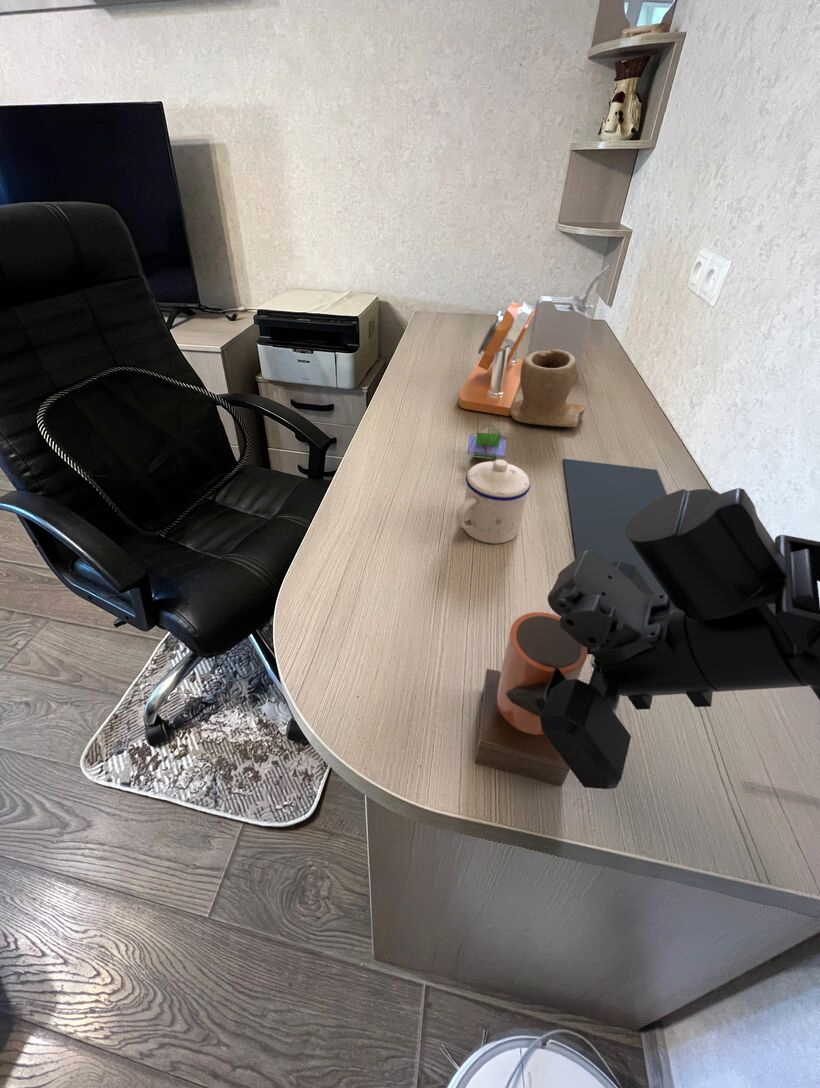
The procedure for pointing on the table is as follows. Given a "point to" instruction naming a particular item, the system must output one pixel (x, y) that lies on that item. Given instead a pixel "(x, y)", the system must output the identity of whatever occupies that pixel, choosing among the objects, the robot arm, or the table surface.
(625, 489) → the desk mat
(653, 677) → the robot arm
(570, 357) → the stone cup
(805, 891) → the table surface
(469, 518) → the teacup with lid
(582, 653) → the cup
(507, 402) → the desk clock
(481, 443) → the geometric puzzle
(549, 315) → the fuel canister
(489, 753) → the brown square slab
